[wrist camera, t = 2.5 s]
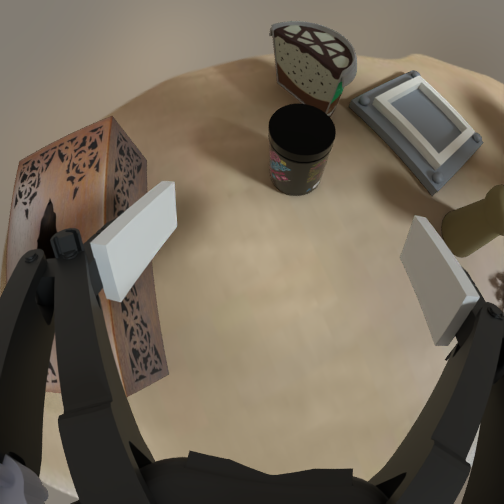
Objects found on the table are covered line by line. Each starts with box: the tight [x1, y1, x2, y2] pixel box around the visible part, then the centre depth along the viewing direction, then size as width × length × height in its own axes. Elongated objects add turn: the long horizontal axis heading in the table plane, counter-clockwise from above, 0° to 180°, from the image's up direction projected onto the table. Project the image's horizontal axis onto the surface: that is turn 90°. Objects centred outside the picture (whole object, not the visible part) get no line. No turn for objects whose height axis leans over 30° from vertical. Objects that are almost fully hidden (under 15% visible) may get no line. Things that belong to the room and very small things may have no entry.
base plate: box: [349, 70, 483, 196], centre depth 30 cm, size 16×16×3 cm
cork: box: [442, 185, 504, 257], centre depth 23 cm, size 6×6×11 cm
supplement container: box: [269, 104, 336, 196], centre depth 27 cm, size 6×6×9 cm
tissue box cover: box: [6, 116, 169, 397], centre depth 26 cm, size 26×14×10 cm, turn 10°
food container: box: [269, 21, 357, 117], centre depth 29 cm, size 12×6×10 cm, turn 36°
